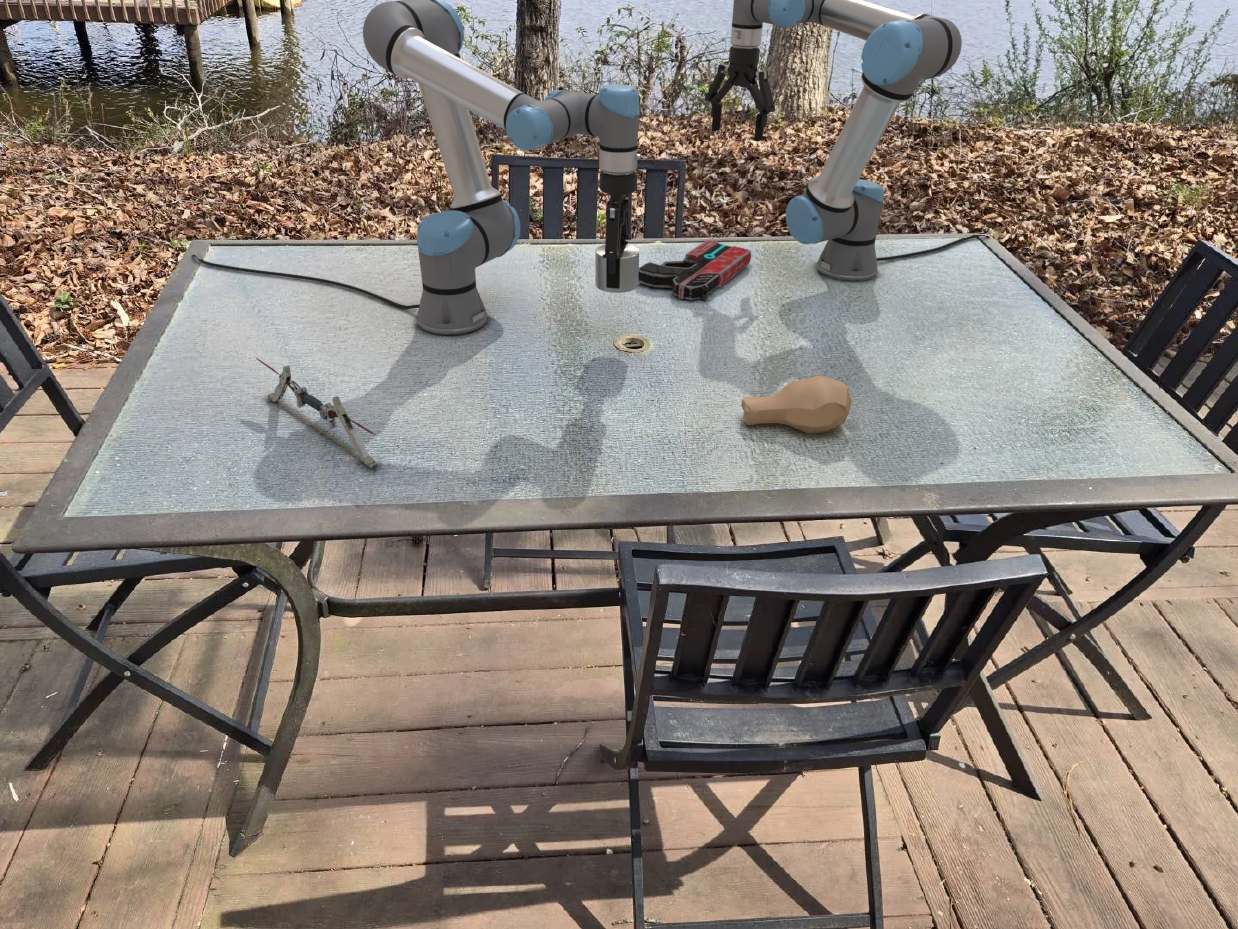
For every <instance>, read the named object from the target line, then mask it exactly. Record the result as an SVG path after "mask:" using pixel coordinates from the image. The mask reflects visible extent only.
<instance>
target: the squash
mask: <svg viewBox="0 0 1238 929" xmlns="http://www.w3.org/2000/svg"><path fill="white" fill-rule="evenodd" d="M851 399H852V398H851V394H850V391H849V388H848V386H847V385H846V384H845V383H844V382H843V381H840V380H837V379H834V378H831V377H827V376H823V375H816V376H813V377H809V378H805V379H800V380H793V381H791V382H789V383H788V384H786V385H785V386H784V387H783V388H782V389H781V390H780V391H778V392H776V393H774V394H773V395H765V396H745V397H743V398H742V399H741V404H740V406H741V409H742V411H743V417H742V418H743V420H744V423H745V424H746V425H747V426H751V425H759V424H774V423H776V424H781V425H786V426H789V427H792V428H793V429H795V430H797V431H801V432H803V433H806V434H823V433H828V432H830V431H832V430H834V429H836V428H838V427H840V426H842V425H844V424H846V422H847V418H848V416H849V414H850V410H851V405H852V400H851Z"/></svg>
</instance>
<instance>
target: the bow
mask: <svg viewBox="0 0 1238 929" xmlns="http://www.w3.org/2000/svg"><path fill="white" fill-rule="evenodd" d="M255 359H256V360H257V361H258V362H259V363H261V364H262V365H264V367H266V368H268V369H269V370H271V371H272V372H274V373H275V374H277V375H278V384H277V385H276V386H275V388H274V390H273V392H271V393H269V394H267V395H266V396H267V398H268V400H269V401H272V402H273V403H275V402H277V403H278V404H280V405H281V406H282V407H284V408H285V409H287V410H288V411H290V412H292V413H293V414H294V415H296V416H297V417H299V418H300V419H302V420H303V421H305V422H306V423H308V424H309V425H310V426H312V427H313V428H315V429H316V430H318V431H319V432H321V434H322V433H323V434H324V435H325V436H327V437H328V438H330V439H332V441H334V442H336V443H337V444H338V445H339V446H341V447H342V448H345V449H346V450H347V451H349V452H350V453H351V454H353V455H355V456H356V457H358V458H359V459H361V461H362V462H363V463H364V464H365V465H366V466H367V467H368V468H370V469H372V468H373V467H374V466H378V463H377V462H376V460H374V458H372V457H371V455H370V454H369V453H368V451H367V449H366V447H365V445H364V443H363V442H362V440H361V438H360V436H359V434H358V433H357V431H356V429H355V426H354V425H353V424H355V425H356V426H358V428H360V429H361V430H364V431H365V432H368V433H369V434H370V435H373V436H376V433H375V432H373V431H372V430H370V429H369V428H367V427H365V426H364V425H362V424H360V423H358V422H357V421H354V420H352V418H351V417H350V415H349V414H348V412H347V410H346V409H345V407H344V405H343V403H342V401H341V399H340V397H339V396H338V395H336V396H333V397H332V398H331V399H332V403H331V402H328V403H325V404H324V403H323V402H322V401H321V400H320V399H318V398H317V397H316V396H313V395H312V394H309V392H308V389H307V387H306V386H302V387H301V386H300V385H299V384H298V383H297V382H296V381H295V380H292V372H291V368H290V365H284V366H283V367H282V372H281V373H279V372H278V371H277V370H275V368H273V367H271V366H270V365H269V364H267V363H266V362H264V361H263V360H261V359H259V358H258V357H255ZM288 387H289V389H290V390H291V391H292V392H293V394H294V396H295V398H296V406H297V408H298V409H301V408H302V407H306V405H308V406H309V407H311V408H312V409H314V410H315V411H317V412H319V416H320V418H321V420H324V421H326V422H327V425H328V429H330V430H333V429H336V428H337V427H338V425H337V422H336V420H335V418H338V420H339V421H340V423H341V425H342V427H343V429H344V430H345V432H346V434H347V436H348V438H349V440H350V442H351V444H352V445H353V447H354V449H355V451H356V452H354V451H353V450H351V449H350V448H348V447H346V446H345V445H344V444H343V443H340V441H338V440H336V439H335V438H333V437H332V436H330V435H329V434H328V433H326V432H324V431H323V430H321V429H320V428H318V427H317V426H316V425H314V424H313V423H312V422H310V421H308V420H307V419H306V418H304V417H302V416H301V415H300V414H298V413H297V412H295V411H293V410H292V409H290V408H289V407H288V406H286V405H284V403H282V402H280V400H282V399H283V398H284V395H285V394H286V393H287V389H288Z"/></svg>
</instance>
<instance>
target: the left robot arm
mask: <svg viewBox="0 0 1238 929" xmlns="http://www.w3.org/2000/svg"><path fill="white" fill-rule="evenodd" d="M362 38H363V39H362V40H363V43H364V46H365V49H366V51H367V53H368V55H369V56H370V58H371V59H372V60H373V61H374V62H375V63H376V64H377V65H378V66H380V67H381V68H383V70H385V71H387V72H388V73H390V74H391V75H394V76H396V77H397V78H400V79H403V80H407V79H409V78H410V79H412V80H413V81H415V82H416V83H417V84H418V87H419V91H420V93H421V97H422V100H423V102H424V105H425V110H426V112H427V116H428V117H429V121H430V125H431V128H432V130H433V131H432V132H433V135H434V137H435V140H436V143H437V147H438V149H439V153H440V157H441V159H442V164H443V165H444V168H445V172H446V174H447V178H448V181H449V184H450V188H451V191H452V194H453V199H452V202H451V204H450V210H443V211H442V212H440V211H437V212H433V213H431V214H429V215H427V216H426V217H424V218H422V219H421V221H420V222H419V223H418V225H417V229H416V233H417V238H416V246H417V250H418V251H417V252H418V258H419V259H418V260H419V267H420V275H421V276H420V278H421V284H422V292H421V297H420V302H419V304H411V305H405V304H401V303H398V302H395V301H393V300H391V299H389V298H386V297H383V296H381V295H379V294H376V293H374V292H371V291H368V290H367V289H362V288H361V287H357V286H353V285H349V284H346V283H343V282H339V281H334V280H329V279H324V278H321V277H320V278H319V277H313V276H307V275H300V274H293V273H284V272H277V271H268V270H259V269H253V268H246V267H238V266H232V265H227V264H226V265H225V264H220V263H214V262H209V261H206V260H204V259H203V258H202V260H200V259H198V258H197V260H198V261H199V262H200V263H202V264H204V265H206V266H209V267H214V268H220V269H225V270H232V271H239V272H246V273H251V274H261V275H269V276H278V277H284V278H292V279H299V280H307V281H313V282H319V283H323V284H329V285H332V286H338V287H342V288H345V289H349V290H353V291H355V292H359V293H362V294H365V295H368V296H370V297H372V298H374V299H378V300H379V301H383V302H384V303H387V304H389V305H392V306H393V307H397V308H400V309H402V310H403V309H404V310H412V309H418V310H417V317H416V318H417V325H418V326H419V328H420V329H421V330H423V331H424V332H427V333H430V334H433V335H440V336H459V335H465V334H469V333H473V332H476V331H477V330H480V329H481V328H483V327H484V326H485V325H486V323H487V320H488V316H487V310H486V306H485V304H484V302H483V299H482V298H481V295H480V293H479V291H478V288H477V278H476V277H477V276H476V268H478V267H481V266H482V265H484V264H486V263H489V262H490V261H492V260H495V259H496V258H497V259H498V258H501V257H502V256H504V255H506V254H507V253H508V252H509V251H511V250H512V249H514V247H515V246H516V244H517V243H518V241H519V239H520V236H521V222H520V218H519V214H518V212H517V210H516V209H515V208H514V206H511V204H510V203H509V202H507V201H506V200H504V199H503V196H502V193H501V191H500V190H498V189H496V188H495V187H493V186H492V183H491V180H490V177H489V173H488V169H487V166H486V163H485V160H484V156H483V153H482V149H481V146H480V142H479V140H478V136H477V133H476V130H475V127H474V123H473V120H472V117H471V113H470V112H472V113H474V114H475V115H477V116H479V117H481V118H483V119H484V120H486V121H489V122H490V123H492V124H493V125H496V126H497V127H499V128H501V129H503V130H504V131H505V132H506V136H507V137H508V139H509V140H510V142H511V143H512V144H513V146H514V147H515V148H516V149H517V148H518V149H519V150H522V151H531V150H538V149H541V148H544V147H545V146H547V145H550V144H552V143H555V142H558V141H561V140H564V139H567V138H570V137H573V136H575V135H584V136H590V137H598V140H599V148H598V151H599V152H598V153H599V154H598V167H599V169H600V171H599V174H598V175H599V176H598V177H599V178H598V179H599V182H598V183H599V185H598V186H599V190H600V192H602V193H603V194H607V195H609V198H608V201H606V207H605V208H606V209H605V215H606V216H605V217H606V219H605V220H606V221H605V241H604V245H605V254H604V255H603V258H606V288H616V289H619V288H620V257H619V250H620V243H621V244H628V245H629V241H632V237H633V236H632V234H630V232H631V230H630V195H631V194H633V193H636V191H637V190H638V172H637V171H636V170H637V169H638V160H641V158H642V156H641V154H640V153H638V151H639V150H638V148H639V143H638V142H639V122H640V121H639V120H640V114H641V112H640V103H639V102H640V101H639V100H640V99H639V97H640V96H639V91H638V90H637V88H636V87H634V86H633V85H628V84H616V83H614V84H606V85H603V86H602V87H600V88H599V94H593V93H586V92H580V91H573V90H570V89H564V90H562V89H560V90H559V89H553V90H551V91H549V92H548V95H547V96H545V98H544V99H543V100H539V99H536V98H534V97H532V96H530V95H528V94H526V93H525V92H523V91H521V90H519V89H517V88H516V87H513V86H512V85H510V84H508V83H506V82H504V81H503V80H501V79H499V78H497V77H495V76H493V75H491V74H490V73H488V72H486V71H485V70H483V69H481V68H478V67H477V66H475V65H473V64H471V63H469V61H468V62H467V61H466V60H465V59H462V58H461V55H460V51H461V50H462V48H463V45H464V44H463V41H464V40H465V31H464V25H463V22H462V19H461V17H460V16H459V14H458V12H457V10H455V8H454V7H453V6H452V5H451V4H450V3H448V2H447V1H446V0H392V1H391V0H389V1H384V2H381V3H379V4H377V5H375V6H374V7H372V8H371V10H370V11H369V12H368V14H367V15H366V17H365V19H364V22H363V26H362ZM612 252H614V253H612Z"/></svg>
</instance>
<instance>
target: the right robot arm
mask: <svg viewBox="0 0 1238 929" xmlns="http://www.w3.org/2000/svg"><path fill="white" fill-rule="evenodd" d="M732 5H733V6H732V18H731V29H730V30H731V31H730V40H729V41H730V45H731V46H730V47H729V52H728V62H729V64H728V63H726V62H724V63H720V64H718V65H717V73H716V74H715V77H714V79H713V81H712V83H711V84H710V87H709V89H708V91H707V93H706V95H705V101H706V102H709V103H710V105H711V107H710V117H711V119H712V120H711V132H713V133H715V132H718V131H720V130H721V122H722V113H723V112H722V109H723V104H722V101H723V99H724V97H725V96H726V95H727V94H728V93H729V92H730V90H731V89H732V88H733V87H739V88H743V89H745V88H746V90H747V91H748V92H749V94H750V97H751V98H752V100H753V102H754V104H755V105H756V108H757V111H758V112H759V113H756V118H755V126H754V137H753V141H754V142H758V141H763V137H764V129H765V128H766V127H767V124H768V116H769V114H770V113H774V112H775V111H776V105H775V100H774V98H773V94H772V90H771V85H770V82H769V70H766V69H765V70H758V65H759V63H760V55H761V49H760V47H759V46H761V45H762V37H763V36H762V34H763V25H764V23H765V24H768V25H773V26H777V27H778V28H783V27H784V28H792V27H795V26H796V25H797V24H809V23H810V24H811V23H812V24H817V25H819V26H823V27H825V28H829V29H832V30H834V31H837V32H840V33H843V34H846V35H849V36H852V37H854V38H858V39H860V40H863V41H865V42H864V45H863V47H862V51H861V56H860V59H861V60H862V62H861V64H860V65H861V71H862V73H861V75H860V78H861V81H862V84H863V85H862V89H861V91H860V93H859V95H858V97H857V99H856V100H855V103H854V105H853V107H852V109H851V111H850V113H849V115H848V117H847V119H846V121H845V123H844V125H843V127H842V129H841V131H840V133H839V135H838V138H837V139H836V141H835V143H834V145H833V147H832V149H831V152H830V154H829V155H828V157H827V160H826V161H825V163H824V166H823V167H822V170H821V171H820V173H819V175H816V176H814V177H812V178H810V180H809V181H808V183H807V185H806V187H805V189H804V192H803V194H802V195H796V196H795V197H793V198H792V199H790V200H789V202H788V203H787V206H786V209H785V222H786V225H787V227H786V228H787V229H788V231H789V233H790V235H791V236H792V238H793V239H794V240H795V241H796V242H798V243H799V244H802V245H817V244H819V243H823V242H826V244H825V246H824V247H823V249H822V251H821V253H820V255H819V257H818V260H817V264H816V269H817V271H818V272H820V274H822V275H824V276H825V277H828V278H830V279H834V280H838V281H845V282H862V281H863V282H864V281H868V280H871V279H874V278H875V277H876V276H877V272H878V262H883V261H892V260H899V259H904V258H905V259H906V258H909V257H915V256H920V255H925V254H931V253H934V252H939V251H941V250H944V249H947V248H950V247H952V246H954V245H957V244H959V243H962V242H964V241H968V240H971V239H976V238H978V237H985V238H986V239H990V238H991V237H990V235H989V234H988V233H987V232H978V233H977V234H987V235H989V236H985V235H975V234H972V235H969V236H970V237H967V236H966V237H967V238H964V237H961V238H958V239H957V240H954V241H951V242H949V243H946V244H944V245H941V246H938V247H935V248H930V249H925V250H920V251H915V252H909V253H904V254H898V255H892V256H891V255H890V256H881V257H877V252H876V240H877V234H878V229H879V224H880V220H881V214H882V210H883V209H882V208H883V205H884V196H885V189H884V188H883V186H882V185H881V184H878V183H876V182H874V181H871V180H866V179H861V176H862V174H863V172H864V170H865V169H866V167H867V165H868V163H869V162H870V160H871V158H872V156H873V154H874V153H875V150H876V149H877V147H878V145H879V143H880V141H881V140H882V138H883V136H884V133H885V132H886V130H887V128H888V127H889V124H890V122H891V121H892V119H893V117H894V115H895V113H896V112H897V110H898V108H899V106H900V104H901V103H905V102H908V101H910V99H912V97H913V95H914V93H915V91H916V89H918V86H919V84H920V83H921V81H923V80H929V79H935V78H938V77H941V76H942V75H945V74H946V73H947V72H948V71H949V70H951V69H952V68H953V67H954V66H955V64H956V63H957V62H958V59H959V58H960V54H961V51H962V45H963V39H962V35H961V32H960V30H959V28H958V26H957V25H956V24H955V23H954V22H953V21H951V20H949V19H948V18H944V17H939V16H935V15H932V14H929V13H920V14H918V15H916V16H915V15H913V14H909V13H906V12H903V11H900V10H896V9H894V8H890V7H886V6H883V5H880V4H877V3H873V2H871V1H867V0H733V4H732ZM727 74H728V76H729V77H727V79H726V80H725V81H724V79H725V78H726V75H727ZM757 80H758V82H757ZM723 82H724V84H723ZM722 84H723V85H722Z"/></svg>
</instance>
